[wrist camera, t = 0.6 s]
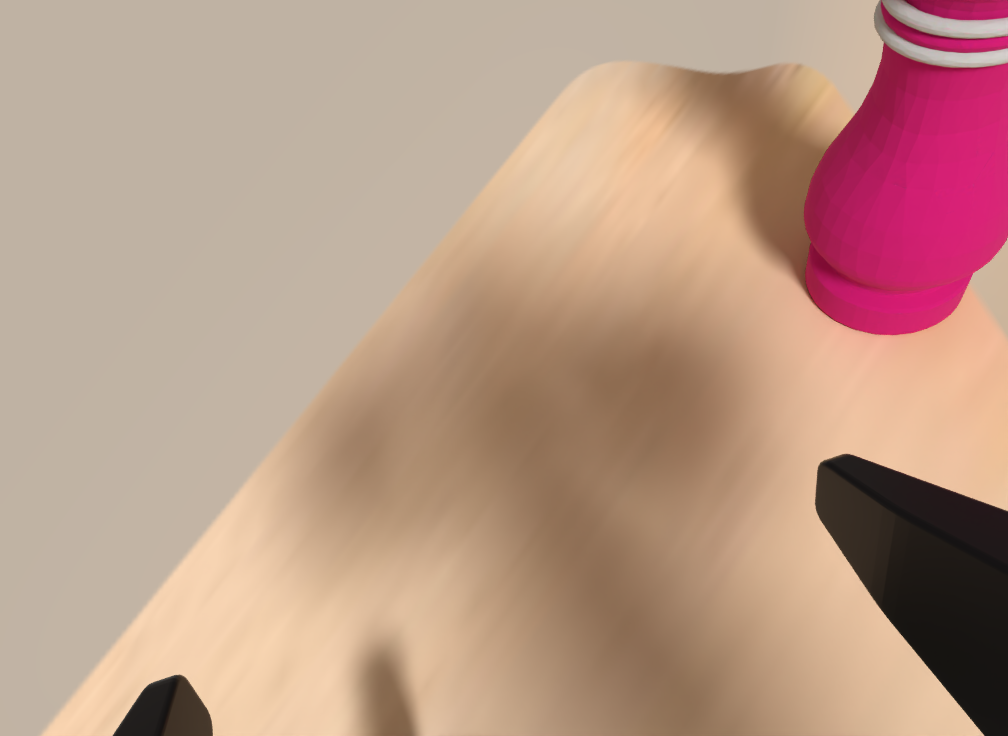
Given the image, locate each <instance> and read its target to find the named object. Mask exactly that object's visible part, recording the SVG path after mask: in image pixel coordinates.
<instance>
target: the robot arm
mask: <svg viewBox="0 0 1008 736" xmlns="http://www.w3.org/2000/svg"><path fill="white" fill-rule="evenodd" d="M815 506H816V511H817V514H818V516H819V518H820V520H821V521H822V523H823V525H824V526H825V528H826V529H827V530H828V532H829V533H830V535H831V536H832V538H833V539H834V541H835V542H836V544H837V545H838V547H839V548H840V550H841V551H842V553H843V554H844V556H845V557H846V559H847V560H848V562H849V563H850V565H851V566H852V568H853V569H854V571H855V572H856V574H857V575H858V577H859V578H860V580H861V581H862V583H863V584H864V586H865V587H866V589H867V590H868V592H869V593H870V595H871V596H872V598H873V599H874V600H875V602H876V603H877V605H878V606H879V607H880V609H881V610H882V611H883V613H884V614H885V615H886V617H887V618H888V619H889V620H890V622H891V623H892V624H893V625H894V627H895V628H896V629H897V630H898V631H899V633H900V634H901V635H902V636H903V637H904V639H905V640H906V641H907V642H908V644H909V645H910V646H911V647H912V648H913V650H914V651H915V652H916V653H917V654H918V656H919V657H920V658H921V659H922V661H923V662H924V663H925V664H926V665H927V667H928V668H929V669H930V670H931V671H932V673H933V674H934V675H935V676H936V677H937V679H938V680H939V681H940V682H941V684H942V685H943V686H944V687H945V688H946V690H947V691H948V692H949V693H950V694H951V696H952V697H953V698H954V699H955V700H956V702H957V703H958V704H959V705H960V707H961V708H962V709H963V710H964V711H965V713H966V714H967V715H968V716H969V717H970V719H971V720H972V721H973V722H974V724H975V725H976V726H977V727H978V728H979V730H980V731H981V732H982V733H983V734H984V736H1008V511H1006V510H1003V509H1000V508H997V507H995V506H992V505H989V504H986V503H984V502H981V501H978V500H975V499H973V498H970V497H967V496H964V495H962V494H959V493H956V492H953V491H951V490H948V489H945V488H942V487H940V486H937V485H934V484H931V483H929V482H926V481H923V480H920V479H917V478H915V477H912V476H909V475H906V474H904V473H901V472H898V471H895V470H893V469H890V468H887V467H884V466H882V465H879V464H876V463H873V462H871V461H868V460H865V459H862V458H860V457H857V456H854V455H850V454H842V455H839V456H836V457H833V458H830V459H827V460H824V461H822V462H821V463H820V465H819V466H818V471H817V484H816V498H815ZM113 736H213V729H212V721H211V717H210V714H209V712H208V710H207V708H206V707H205V705H204V704H203V702H202V701H201V699H200V698H199V696H198V695H197V693H196V692H195V690H194V689H193V687H192V686H191V684H190V683H189V681H188V680H187V679H186V678H185V677H184V676H182V675H174V676H171V677H168V678H165V679H162V680H159V681H156V682H153V683H151V684H149V685H148V686H147V687H146V688H145V689H144V690H143V691H142V693H141V694H140V696H139V697H138V699H137V700H136V702H135V703H134V704H133V706H132V707H131V709H130V710H129V712H128V713H127V715H126V716H125V718H124V719H123V721H122V722H121V724H120V725H119V727H118V728H117V730H116V731H115V733H114V734H113Z"/></svg>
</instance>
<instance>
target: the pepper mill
mask: <svg viewBox="0 0 1008 736" xmlns="http://www.w3.org/2000/svg"><path fill="white" fill-rule="evenodd" d="M874 23H875V28H876V31H877V33H878V34H879V36H880V38H881V39H882V41H883V42H884V46H883V52H882V59H881V62H880V65H879V68H878V71H877V74H876V77H875V80H874V83H873V85H872V87H871V88H870V90H869V92H868V94H867V96H866V98H865V100H864V102H863V103H862V106H861V107H860V108H859V110H858V111H857V113H856V114H855V115H854V116H853V118H852V119H851V120H850V121H849V123H848V124H847V125H846V126H845V128H844V129H843V130H842V131H841V133H840V134H839V135H838V136H837V138H836V139H835V140H834V141H833V142H832V144H831V145H830V146H829V148H828V149H827V151H826V152H825V154H824V156H823V157H822V159H821V161H820V163H819V165H818V167H817V168H816V171H815V173H814V175H813V177H812V179H811V183H810V186H809V190H808V193H807V197H806V201H805V206H804V221H805V227H806V231H807V233H808V236H809V238H810V240H811V244H810V249H809V254H808V260H807V265H806V271H805V279H806V285H807V288H808V291H809V293H810V295H811V297H812V298H813V300H814V302H815V303H816V304H817V305H818V307H819V308H820V309H821V310H822V311H823V312H825V313H826V314H827V315H828V316H830V317H831V318H832V319H834V320H835V321H837V322H839V323H842V324H844V325H846V326H848V327H850V328H852V329H855V330H859V331H863V332H868V333H872V334H880V335H899V334H907V333H914V332H917V331H920V330H924V329H927V328H929V327H931V326H934V325H936V324H938V323H939V322H941V321H942V320H944V319H945V318H946V317H948V316H949V315H950V314H951V313H952V312H953V311H954V310H955V308H956V307H957V306H958V304H959V302H960V301H961V298H962V296H963V294H964V292H965V290H966V288H967V286H968V284H969V282H970V279H971V277H972V275H973V273H974V272H975V271H977V270H979V269H980V268H982V267H983V266H984V265H986V264H987V263H988V262H990V260H992V258H993V257H994V256H995V255H996V254H997V252H998V251H999V250H1000V249H1001V248H1002V246H1003V245H1004V243H1005V242H1006V240H1007V237H1008V0H880V1H879V3H878V5H877V6H876V10H875V13H874Z"/></svg>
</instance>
